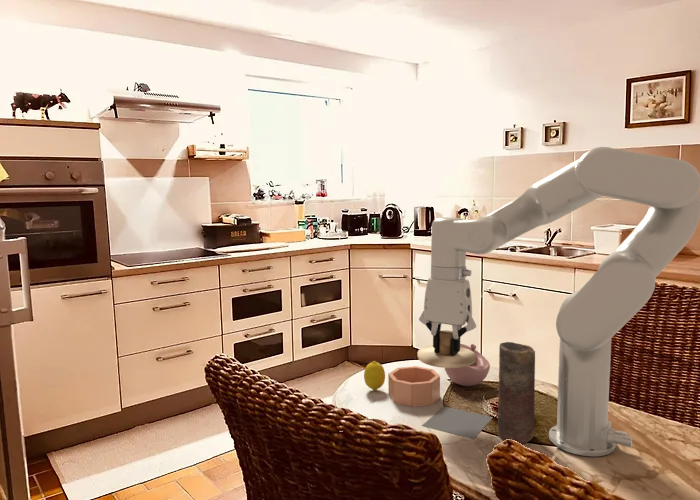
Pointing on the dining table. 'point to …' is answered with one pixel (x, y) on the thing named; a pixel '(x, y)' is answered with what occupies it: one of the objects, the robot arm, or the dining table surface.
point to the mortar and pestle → (470, 370)
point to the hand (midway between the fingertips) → (446, 352)
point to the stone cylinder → (516, 392)
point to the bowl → (414, 386)
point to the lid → (446, 354)
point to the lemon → (374, 375)
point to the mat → (458, 422)
